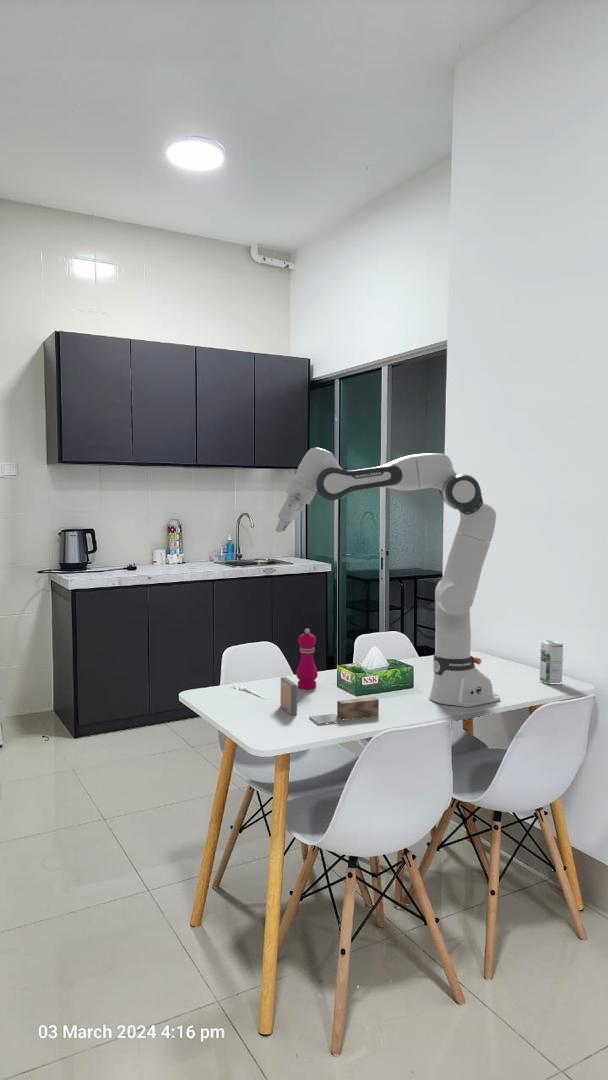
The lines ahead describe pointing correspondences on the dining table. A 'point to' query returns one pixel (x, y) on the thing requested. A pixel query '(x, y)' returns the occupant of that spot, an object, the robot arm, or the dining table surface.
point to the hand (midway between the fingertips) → (279, 531)
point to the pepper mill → (307, 661)
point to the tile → (289, 696)
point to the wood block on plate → (350, 710)
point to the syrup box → (551, 661)
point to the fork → (246, 689)
